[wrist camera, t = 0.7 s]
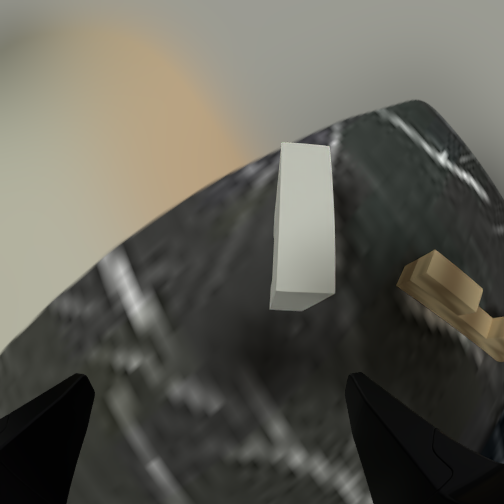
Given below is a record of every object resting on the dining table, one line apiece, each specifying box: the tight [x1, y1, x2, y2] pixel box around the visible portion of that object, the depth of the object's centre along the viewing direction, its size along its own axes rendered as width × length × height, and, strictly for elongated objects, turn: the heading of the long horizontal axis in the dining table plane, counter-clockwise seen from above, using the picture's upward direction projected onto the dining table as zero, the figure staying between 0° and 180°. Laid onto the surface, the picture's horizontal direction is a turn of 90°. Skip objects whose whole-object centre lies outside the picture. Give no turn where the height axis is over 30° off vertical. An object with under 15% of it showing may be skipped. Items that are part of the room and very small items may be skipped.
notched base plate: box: [396, 250, 504, 362], centre depth 18 cm, size 16×2×5 cm, turn 56°
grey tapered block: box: [270, 142, 335, 311], centre depth 17 cm, size 8×2×10 cm, turn 176°
